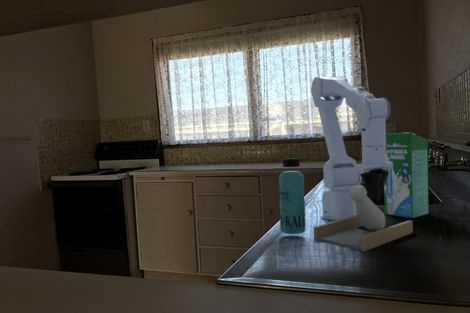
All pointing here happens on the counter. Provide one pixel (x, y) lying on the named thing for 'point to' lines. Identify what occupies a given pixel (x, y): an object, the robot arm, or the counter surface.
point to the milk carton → (406, 175)
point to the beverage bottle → (292, 199)
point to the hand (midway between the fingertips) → (374, 199)
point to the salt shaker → (367, 209)
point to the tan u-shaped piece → (359, 233)
